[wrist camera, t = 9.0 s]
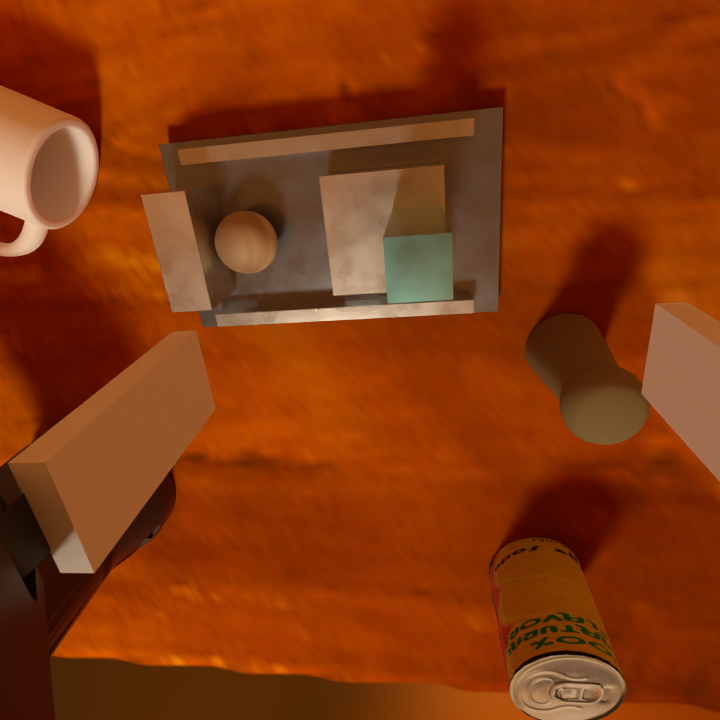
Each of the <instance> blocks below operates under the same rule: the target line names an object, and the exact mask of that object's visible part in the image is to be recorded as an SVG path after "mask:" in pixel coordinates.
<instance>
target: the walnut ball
mask: <svg viewBox="0 0 720 720" xmlns="http://www.w3.org/2000/svg"><path fill="white" fill-rule="evenodd" d="M277 246H278V241H277V235H276V232H275V230H274V228H273V226H272V225H271V224H270V222H269V221H268V220H267V219H266V218H264V217H263V216H261V215H260V214H258V213H255V212H251V211H237V212H234V213H232V214H230V215H228V216H227V217H225V218H224V219H223V220H222V221H221V223H220V224H219V226H218V228H217V230H216V234H215V247H216V251H217V253H218V255H219V257H220V259H221V260H222V262H223V263H224V264H225V265H226V266H228V267H229V268H230V269H232V270H234V271H236V272H240V273H245V274H250V273H256V272H259V271H261V270H263V269H265V268H266V267H267V266H268V265H269V264H270V263H271V262H272V261H273V259H274V257H275V255H276V252H277Z"/></svg>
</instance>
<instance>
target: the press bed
mask: <svg viewBox="0 0 720 720" xmlns="http://www.w3.org/2000/svg"><path fill="white" fill-rule="evenodd" d="M502 133H503V107H498V108H488V109H479V110H470V111H461V112H452V113H443V114H434V115H424V116H415V117H406V118H397V119H388V120H379V121H369V122H360V123H351V124H342V125H333V126H324V127H314V128H305V129H296V130H287V131H278V132H269V133H260V134H250V135H241V136H232V137H223V138H214V139H205V140H195V141H186V142H177V143H168V144H159V147H160V151H161V155H162V160H163V164H164V168H165V172H166V176H167V180H168V184H169V188H170V189H168V190H163V191H159V192H154V193H149V194H144V195H141V197H142V201H143V205H144V208H145V212H146V216H147V220H148V223H149V227H150V231H151V235H152V238H153V242H154V246H155V250H156V253H157V257H158V261H159V264H160V268H161V272H162V276H163V279H164V283H165V287H166V291H167V294H168V298H169V302H170V306H171V309H172V312H184V311H199V312H200V316H201V320H202V324H203V327H212V326H237V325H255V324H274V323H293V322H312V321H330V320H349V319H368V318H387V317H405V316H424V315H443V314H462V313H474V312H492V311H498V292H499V252H500V212H501V173H502ZM434 163H443V164H444V181H445V215H446V217H447V220H448V223H449V225H450V228H451V230H452V246H453V300H437V301H420V302H402V303H387V292H386V293H369V294H353V295H336V296H333V289H332V280H331V272H330V264H329V255H328V247H327V239H326V231H325V222H324V214H323V206H322V197H321V189H320V181H319V177H320V176H322V175H325V174H329V173H339V172H350V171H360V170H371V169H381V168H392V167H402V166H413V165H423V164H434ZM237 211H251V212H255V213H258V214H260V215H261V216H263V217H264V218H266V219H267V220H268V221H269V222H270V224H271V225H272V226H273V228H274V230H275V232H276V235H277V241H278V246H277V252H276V255H275V257H274V259H273V261H272V262H271V263H270V264H269V265H268V266H267V267H266V268H265V269H263V270H261V271H259V272H256V273H250V274H245V273H240V272H236V271H234V270H232V269H230V268H229V267H228V266H226V265H225V264H224V263H223V262H222V260H221V259H220V257H219V255H218V253H217V251H216V247H215V234H216V230H217V228H218V226H219V224H220V223H221V221H222V220H223V219H224V218H225V217H227V216H228V215H230V214H232V213H234V212H237Z"/></svg>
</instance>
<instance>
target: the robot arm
mask: <svg viewBox="0 0 720 720" xmlns="http://www.w3.org/2000/svg"><path fill="white" fill-rule="evenodd" d="M641 394H642V395H643V396H644V397H645V398H646V400H647V401H648V402H649V403H650V404H651V405H652V406H653V407H654V408H655V410H656V411H657V412H658V413H659V414H660V415H661V416H662V417H663V419H664V420H665V421H666V422H667V423H668V424H669V425H670V426H671V428H672V429H673V430H674V431H675V432H676V433H677V434H678V435H679V436H680V438H681V439H682V440H683V441H684V442H685V443H686V444H687V445H688V447H689V448H690V449H691V450H692V451H693V452H694V453H695V454H696V456H697V457H698V458H699V459H700V460H701V461H702V462H703V463H704V464H705V466H706V467H707V468H708V469H709V470H710V471H711V472H712V473H713V475H714V476H715V477H716V478H717V479H718V480H719V481H720V322H719V321H717V320H716V319H714V318H712V317H711V316H709V315H707V314H706V313H704V312H702V311H701V310H699V309H697V308H696V307H694V306H692V305H691V304H689V303H687V302H676V303H659V304H656V305H655V311H654V317H653V323H652V330H651V336H650V342H649V348H648V355H647V361H646V367H645V373H644V379H643V386H642V392H641ZM215 409H216V408H215V404H214V400H213V396H212V392H211V388H210V384H209V380H208V376H207V372H206V368H205V365H204V361H203V357H202V353H201V349H200V345H199V341H198V337H197V333H196V330H194V331H176V332H171V333H170V334H169V335H168V336H166V337H165V338H164V339H163V340H161V341H160V342H159V343H158V344H156V345H155V346H154V347H153V348H151V349H150V350H149V351H148V352H146V353H145V354H144V355H143V356H141V357H140V358H139V359H138V360H136V361H135V362H134V363H133V364H131V365H130V366H129V367H128V368H126V369H125V370H124V371H123V372H121V373H120V374H119V375H117V376H116V377H115V378H114V379H112V380H111V381H110V382H109V383H107V384H106V385H105V386H104V387H102V388H101V389H100V390H99V391H97V392H96V393H95V394H94V395H92V396H91V397H90V398H89V399H87V400H86V401H85V402H84V403H82V404H81V405H80V406H79V407H77V408H76V409H75V410H74V411H72V412H71V413H70V414H69V415H67V416H66V417H64V418H62V419H60V420H59V421H58V422H56V423H55V424H54V425H53V426H51V427H50V428H49V429H48V430H46V431H45V432H44V435H40V436H39V437H37V438H36V439H35V440H34V441H32V442H31V443H32V444H31V445H27V446H26V447H25V448H24V449H22V450H21V451H20V452H19V453H17V454H16V455H15V456H13V457H12V458H11V459H10V460H8V461H7V462H6V463H5V464H3V465H2V466H1V467H0V720H55V717H54V705H53V693H52V680H51V667H50V657H51V656H52V654H53V653H54V652H55V650H56V649H57V647H58V646H59V644H60V643H61V641H62V640H63V639H64V637H65V636H66V634H67V633H68V631H69V630H70V628H71V627H72V626H73V624H74V623H75V621H76V620H77V618H78V617H79V616H80V614H81V613H82V611H83V610H84V608H85V607H86V605H87V604H88V603H89V601H90V600H91V598H92V597H93V595H94V594H95V593H96V591H97V590H98V588H99V587H100V585H101V584H102V582H103V581H104V580H105V578H106V577H107V575H108V574H109V573H110V571H111V570H112V569H113V568H115V567H116V566H117V565H119V564H120V563H121V562H123V561H124V560H125V559H127V558H128V557H129V556H130V555H132V554H133V553H134V552H135V551H136V550H137V549H138V548H139V547H141V546H143V545H145V544H146V543H148V542H149V541H150V540H152V539H153V538H154V537H155V536H156V535H157V534H158V532H159V531H160V530H161V528H162V527H163V525H164V524H165V522H166V521H167V519H168V518H169V516H170V514H171V513H172V510H173V507H174V503H175V489H174V484H173V481H172V478H171V475H170V473H169V471H170V470H171V469H172V467H173V466H174V464H175V463H176V462H177V460H178V459H179V458H180V456H181V455H182V454H183V452H184V451H185V449H186V448H187V447H188V445H189V444H190V443H191V441H192V440H193V439H194V437H195V436H196V435H197V433H198V432H199V430H200V429H201V428H202V426H203V425H204V424H205V422H206V421H207V420H208V418H209V417H210V416H211V414H212V413H213V411H214V410H215Z"/></svg>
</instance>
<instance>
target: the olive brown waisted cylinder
mask: <svg viewBox="0 0 720 720" xmlns="http://www.w3.org/2000/svg"><path fill="white" fill-rule="evenodd" d="M525 357H526V359H527V362H528V365H529V366H530V367H531V369H532V370H533V371H534V372H535V373H536V374H537V375H538V376H539V377H540V379H541V380H542V381H543V382H544V383H545V384H546V385H547V386H548V387H549V389H550V390H551V391H552V392H553V393H554V394H555V395H556V396H557V397H558V398H559V400H560V413H561V415H562V418H563V420H564V423H565V425H566V426H567V427H568V428H569V429H570V430H571V431H572V432H573V433H574V434H575V435H576V436H577V437H579V438H581V439H583V440H585V441H587V442H591V443H596V444H601V445H606V444H616V443H619V442H622V441H625V440H627V439H629V438H630V437H632V436H634V435H635V434H636V433H637V432H638V431H639V430H640V429H641V428H642V427H643V425H644V423H645V421H646V419H647V417H648V415H649V408H650V403H649V402H648V401H647V400H646V398H645V397H644V396H643V395H642V394H641V392H642V386H643V384H642V383H641V382H640V381H639V380H638V378H637V377H636V376H635V375H633V374H632V373H630V372H628V371H626V370H624V369H622V368H620V367H618V365H617V363H616V361H615V359H614V357H613V355H612V353H611V351H610V349H609V347H608V345H607V343H606V341H605V339H604V337H603V336H602V334H601V332H600V330H599V328H598V327H597V326H596V325H595V323H594V322H593V321H592V320H590V319H588V318H586V317H585V316H583V315H579V314H574V313H564V314H557V315H554V316H552V317H549V318H546V319H545V320H544V321H542V322H541V323H540V324H538V325H537V326H536V327H535V328H534V330H533V331H532V332H531V333H530V335H529V337H528V340H527V343H526V345H525Z"/></svg>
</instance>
